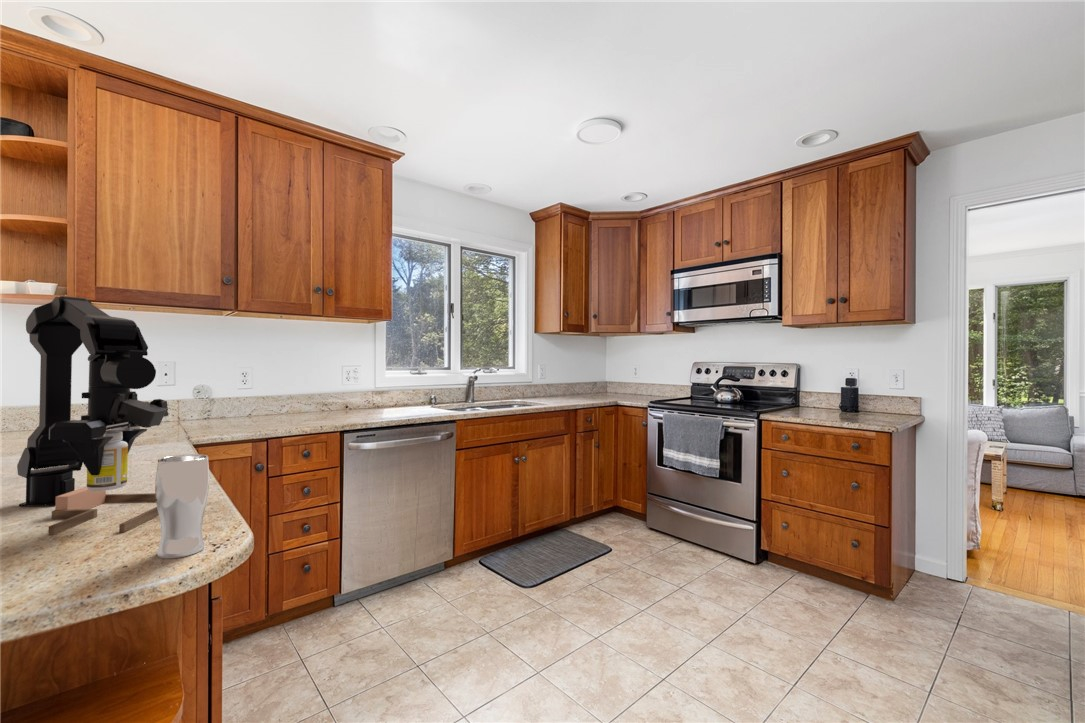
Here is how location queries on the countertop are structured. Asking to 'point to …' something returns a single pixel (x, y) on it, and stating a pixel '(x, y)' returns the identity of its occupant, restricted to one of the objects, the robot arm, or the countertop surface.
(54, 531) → the walnut track
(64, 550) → the countertop surface
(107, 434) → the supplement bottle
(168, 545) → the beer glass
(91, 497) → the stop block
